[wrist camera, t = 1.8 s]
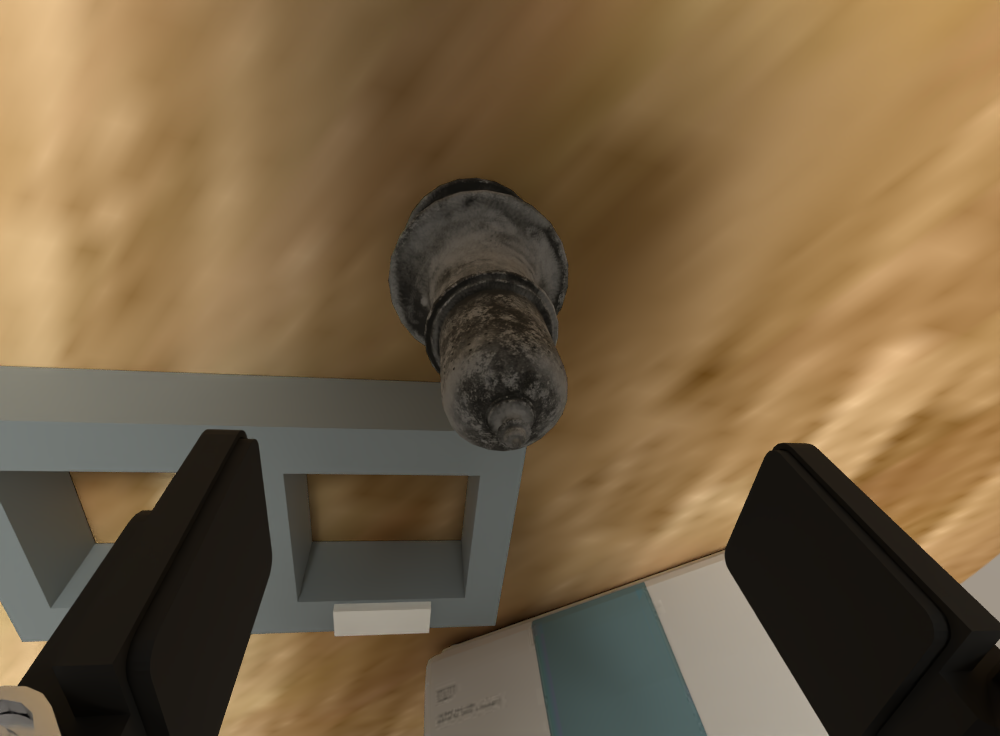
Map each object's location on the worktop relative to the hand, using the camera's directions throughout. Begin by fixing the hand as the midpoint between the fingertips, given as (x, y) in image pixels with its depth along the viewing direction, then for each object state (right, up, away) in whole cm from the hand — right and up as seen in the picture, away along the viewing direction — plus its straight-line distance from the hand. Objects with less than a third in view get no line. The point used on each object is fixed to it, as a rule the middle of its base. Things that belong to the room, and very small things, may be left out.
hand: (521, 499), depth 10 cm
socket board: (-11, -3, +15) cm, 19 cm away
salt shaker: (-2, +7, +11) cm, 13 cm away
